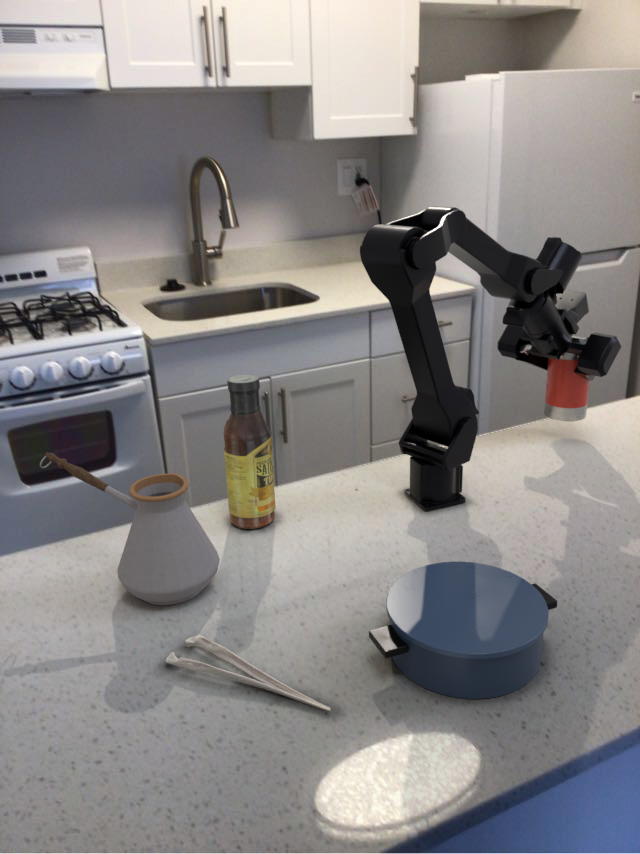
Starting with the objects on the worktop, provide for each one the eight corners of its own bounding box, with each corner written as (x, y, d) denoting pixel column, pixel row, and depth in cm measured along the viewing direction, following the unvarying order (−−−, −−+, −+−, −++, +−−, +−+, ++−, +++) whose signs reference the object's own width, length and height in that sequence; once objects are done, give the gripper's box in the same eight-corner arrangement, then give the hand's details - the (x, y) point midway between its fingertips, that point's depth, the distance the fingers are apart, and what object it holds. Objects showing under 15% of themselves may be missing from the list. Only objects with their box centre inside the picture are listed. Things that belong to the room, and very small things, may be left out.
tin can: (561, 424, 121) (568, 348, 116) (535, 411, 126) (541, 338, 122) (595, 417, 123) (602, 342, 118) (568, 405, 129) (574, 334, 124)
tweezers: (162, 668, 74) (161, 651, 73) (193, 641, 78) (192, 625, 77) (316, 739, 66) (317, 722, 65) (342, 706, 70) (343, 689, 69)
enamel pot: (416, 728, 65) (416, 679, 63) (344, 629, 79) (343, 586, 77) (595, 667, 72) (600, 621, 70) (500, 585, 85) (502, 545, 83)
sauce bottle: (269, 533, 98) (259, 387, 91) (223, 530, 100) (210, 386, 92) (281, 510, 104) (273, 371, 97) (238, 507, 105) (226, 370, 98)
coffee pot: (238, 569, 90) (228, 453, 85) (188, 624, 80) (173, 497, 75) (92, 541, 98) (74, 434, 93) (30, 588, 88) (6, 471, 83)
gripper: (622, 282, 107) (650, 343, 118) (511, 269, 121) (545, 325, 131) (587, 346, 105) (618, 403, 116) (478, 326, 119) (516, 378, 129)
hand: (573, 374), depth 123 cm, fingers closed on tin can, 7 cm apart
